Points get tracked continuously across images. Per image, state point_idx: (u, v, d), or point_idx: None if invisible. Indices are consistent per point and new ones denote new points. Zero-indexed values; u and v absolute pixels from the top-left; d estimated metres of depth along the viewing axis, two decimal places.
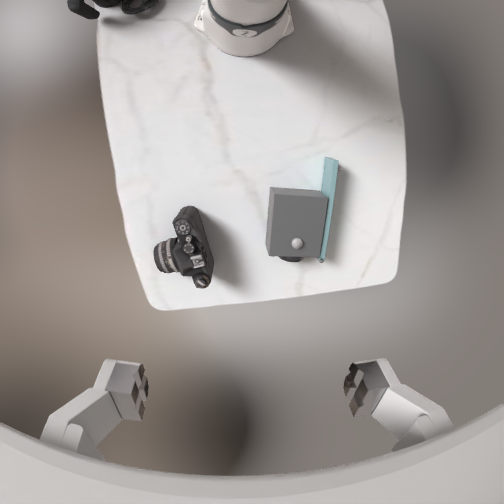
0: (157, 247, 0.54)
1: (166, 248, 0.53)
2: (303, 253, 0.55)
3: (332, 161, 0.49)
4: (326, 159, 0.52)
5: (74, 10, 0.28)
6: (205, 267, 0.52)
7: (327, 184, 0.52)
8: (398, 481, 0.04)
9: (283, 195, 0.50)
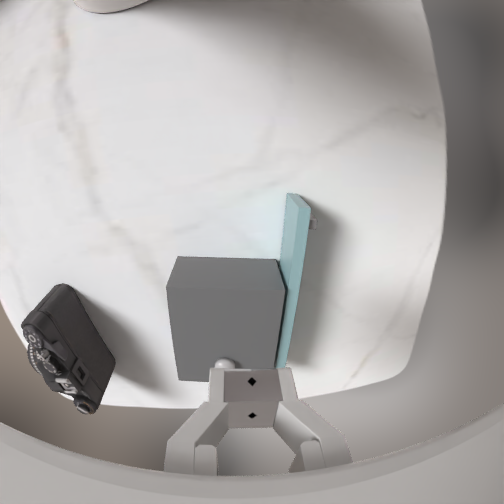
0: (30, 343, 0.27)
1: None
2: None
3: (296, 209, 0.22)
4: (287, 198, 0.26)
5: None
6: (83, 390, 0.26)
7: (288, 257, 0.25)
8: (398, 481, 0.04)
9: (185, 289, 0.23)
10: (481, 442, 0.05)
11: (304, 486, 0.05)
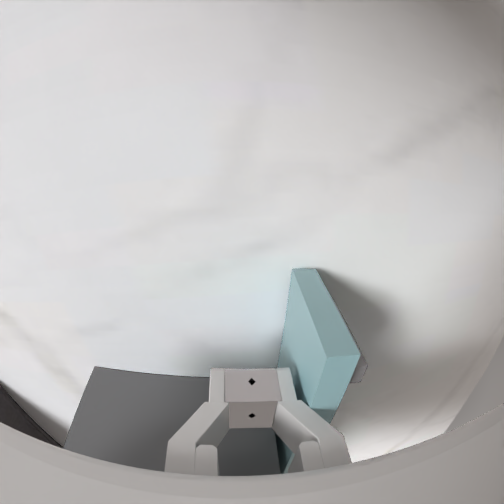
0: None
1: None
2: None
3: (320, 353, 0.07)
4: (294, 285, 0.11)
5: None
6: None
7: None
8: (398, 481, 0.04)
9: None
10: (481, 442, 0.05)
11: (304, 486, 0.05)
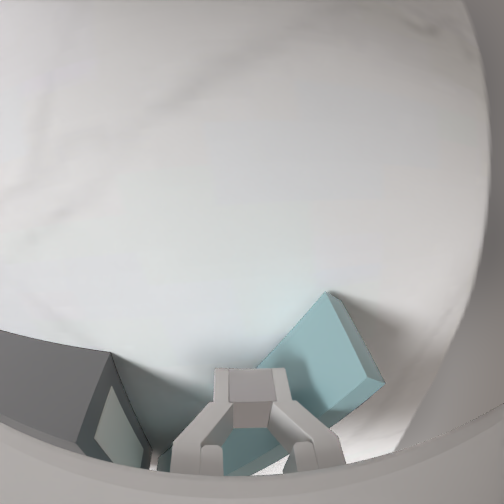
0: None
1: None
2: None
3: (355, 372, 0.08)
4: (324, 306, 0.11)
5: None
6: None
7: None
8: (398, 481, 0.04)
9: None
10: (481, 442, 0.05)
11: (304, 486, 0.05)
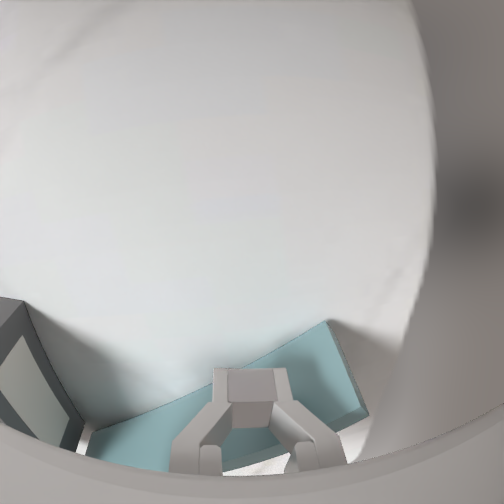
0: None
1: None
2: None
3: (348, 400, 0.09)
4: (322, 334, 0.12)
5: None
6: None
7: None
8: (398, 481, 0.04)
9: None
10: (481, 442, 0.05)
11: (304, 486, 0.05)
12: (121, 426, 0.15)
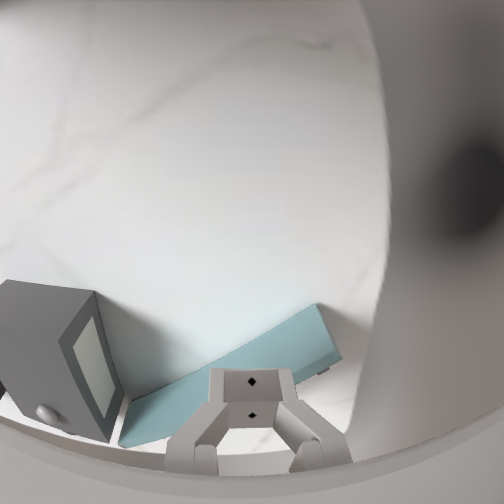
0: None
1: None
2: (73, 430, 0.17)
3: (328, 347, 0.15)
4: (312, 311, 0.19)
5: None
6: None
7: None
8: (398, 481, 0.04)
9: None
10: (481, 442, 0.05)
11: (304, 486, 0.05)
12: (160, 392, 0.22)
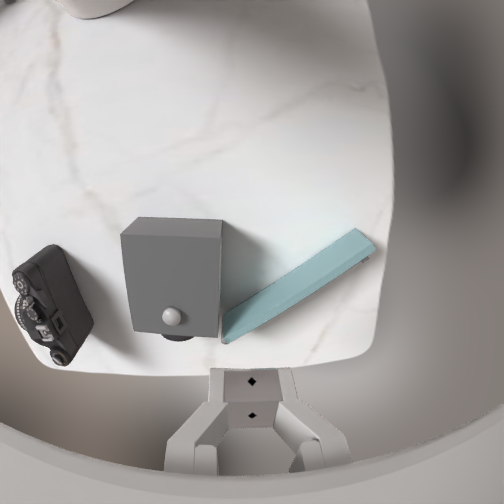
0: (18, 299, 0.30)
1: (22, 304, 0.29)
2: (188, 331, 0.31)
3: (368, 243, 0.29)
4: (355, 231, 0.33)
5: None
6: (60, 340, 0.28)
7: (330, 262, 0.31)
8: (398, 481, 0.04)
9: (135, 236, 0.26)
10: (481, 442, 0.05)
11: (304, 486, 0.05)
12: (253, 297, 0.36)
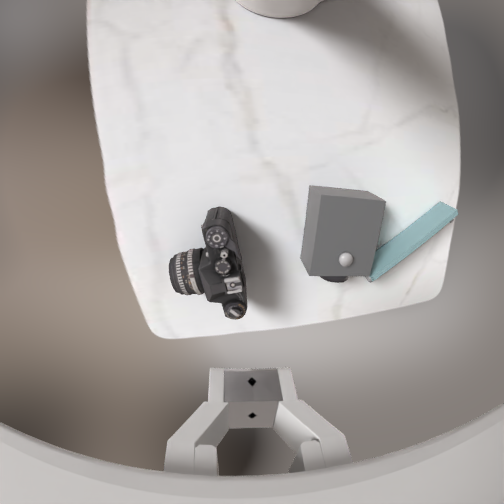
0: (174, 260, 0.40)
1: (187, 263, 0.39)
2: (351, 271, 0.41)
3: (454, 209, 0.39)
4: (441, 203, 0.43)
5: None
6: (241, 292, 0.39)
7: (433, 222, 0.41)
8: (398, 481, 0.04)
9: (332, 196, 0.36)
10: (481, 442, 0.05)
11: (304, 486, 0.05)
12: (381, 249, 0.46)
